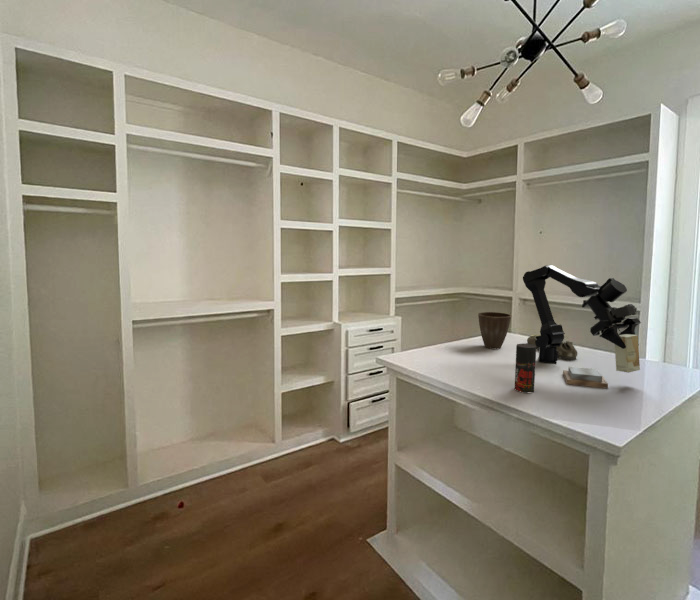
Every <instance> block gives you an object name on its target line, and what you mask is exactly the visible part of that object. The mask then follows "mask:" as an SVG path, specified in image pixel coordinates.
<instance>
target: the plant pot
mask: <svg viewBox="0 0 700 600" xmlns="http://www.w3.org/2000/svg"><path fill="white" fill-rule="evenodd" d="M477 315H478V316H477V317H478V325H479V330H480V335H481V339H482V342H483V346H484V348H487V349H492V348H496V349H495V350H498V349H497V348H499V349H501V348H502V346H503V344H504V342H505V340H506V337H507V335H508V331H509V328H510V324H511V319H512V315H511V314H510V313H505V312H504V313H503V312H495V311H484V312H479V313H478V314H477Z"/></svg>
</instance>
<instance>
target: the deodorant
mask: <svg viewBox="0 0 700 600" xmlns="http://www.w3.org/2000/svg"><path fill="white" fill-rule="evenodd" d="M515 349H516V350H515V370H514V371H515V372H514V390H515V389H516V390H518V391H521V392H520V393H522V392H533V393H534V392H535V383H536V382H535V380H536V377H535V376H536V359H537V358H536V357H537V348H536V346H535V345H531V344H528V343H517V344H516V348H515ZM516 390H515V391H516ZM518 391H517V392H518Z"/></svg>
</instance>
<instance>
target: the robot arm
mask: <svg viewBox="0 0 700 600" xmlns="http://www.w3.org/2000/svg"><path fill="white" fill-rule="evenodd" d="M550 278H551V279H553V280H555V281H556V282H558V283H561V284H562V285H563V286H566V287H567V288H568V289H570V291H571V293H574V294H575V296H577V297H578V298H588V299H585V300H583V301H582V305H581V307H582V308H589V309H590V310H591V311H592V312H593V314H594V317H593V319H595V320H596V321H597V320H598V321H597V322H596V323H595V324H594V325H592V326H591V327H590V328H589V329H590V330H589V332H590V333H591V335H592V336H593V337H596V336H599V338H602V339H604V340H607V341H608V342H610V343H612V344H614V346H615V345H617V346H619V347H621V348H623V349H624V348H626V346H625V344H624V342H623V341H622V339H621V337H620V336H619V335H623V334H633V335H636V332H635V329H636V328H637V326H639V325H640V324H641V323H642V322H641V320H640V319H639V318H638V317H629V316H635V315H637V314H636V313H637V311H638V309H637V307H636V306H635V305H634V304H633V303H628V304H625V305H624V306H621V307H618V308H617V307H614V306H613V307H612V305H611V304H610V303H614V302H616V301H617V300H618V299H619V298H621V297H622V296H623V295H624V294H626V292H628V289H627V287H626V285H625V284H623V283H622V282H620V281H619V280H616V278H614V277H613V278H612V277H611V278H608V279H607V280H606V281H605V282H604V283H603V284H602V285H599V284H598V283H597V282H596V281H592V280H589V279H585V278H584V279H583V278H579V277H577V276H574V275H572V274H570V273H569V272H566V271H564V270H562V269H560V268H557V266H555V265H550V264H549V265H548V264H547V265H544V266H541V267H540V268H536V269H534V270H530V271H529V270H527V271H526V272H525V273H524V274H523V276H522V281H523V283H524V285H525V287H526V288H527V290H529V291H530V293H531V294H532V297H533V301H534V305H535V308H536V311H537V314H538V316H539V321H540V324H541V326H540V331H539V333H540V335H541V336H540V337H539V338H538V339H537V340H536V341H535V344H536V346H537V347H539V349H538V357H537V359H538V362H540V363H550V364H557V362H558V358H559V357H558V351H557V348H556V347H560V345H561V343H562V342H564V339H565V334H566V333H565V331H564V329H563V325H562V324H557V322H555V320H554V316H553V313H552V310H551V307H550V304H549V301H548V298H547V297H548V296H547V295H546V292H545V287H546V281H547V280H548V279H550ZM626 317H627V318H626ZM618 331H619V332H618ZM639 345H640V343H638V347H639Z"/></svg>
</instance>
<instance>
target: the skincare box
mask: <svg viewBox="0 0 700 600" xmlns="http://www.w3.org/2000/svg"><path fill="white" fill-rule="evenodd" d="M638 335H639V334H635V335H633V334H623V335H619V336H620V337H621V339H622V341H623V342H624V344H625V346H626V348H624V349H623V348H621V347H619V346H617V345H615V344H614V354H615V371H616V372H623V373H633V372H637V371H640V370H641V367H640V351H639V349H640V348H639V346H638V344H639V336H638Z"/></svg>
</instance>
